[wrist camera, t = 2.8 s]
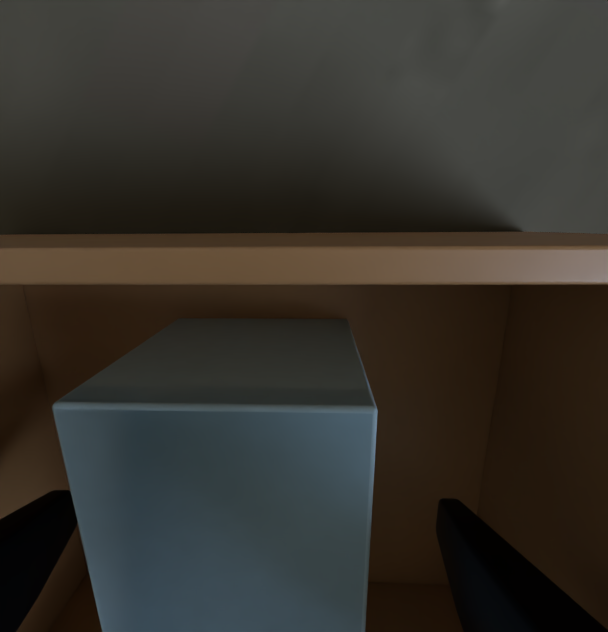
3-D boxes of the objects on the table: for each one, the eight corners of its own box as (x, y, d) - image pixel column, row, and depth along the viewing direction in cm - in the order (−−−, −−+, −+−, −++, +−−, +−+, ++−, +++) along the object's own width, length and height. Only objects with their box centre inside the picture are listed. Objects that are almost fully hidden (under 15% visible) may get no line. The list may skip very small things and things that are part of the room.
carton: (526, 231, 9) (931, 243, 3) (470, 582, 13) (616, 921, 7) (10, 234, 10) (-496, 249, 4) (86, 570, 13) (-116, 872, 7)
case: (348, 318, 10) (378, 408, 5) (341, 537, 12) (359, 751, 7) (178, 317, 10) (48, 404, 5) (201, 533, 12) (124, 739, 7)
